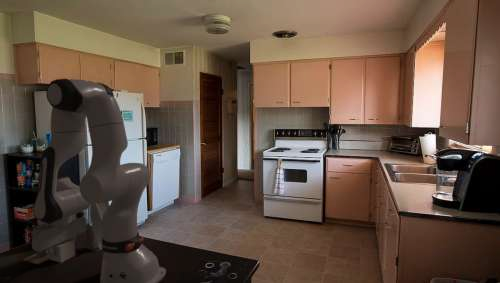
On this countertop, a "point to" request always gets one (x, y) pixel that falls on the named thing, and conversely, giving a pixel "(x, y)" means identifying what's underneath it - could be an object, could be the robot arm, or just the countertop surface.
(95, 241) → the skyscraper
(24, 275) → the countertop surface
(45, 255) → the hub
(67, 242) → the knob
